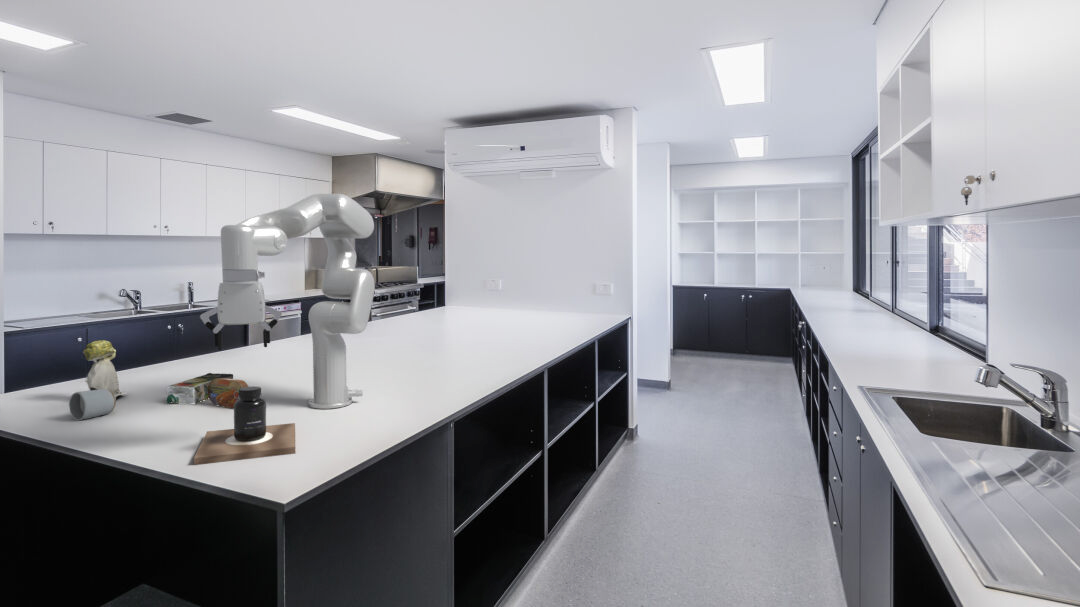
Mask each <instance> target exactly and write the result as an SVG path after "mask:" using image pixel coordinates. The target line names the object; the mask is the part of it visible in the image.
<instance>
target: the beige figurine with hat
mask: <svg viewBox="0 0 1080 607" xmlns="http://www.w3.org/2000/svg"><path fill="white" fill-rule="evenodd" d="M82 353H83V355H84V356H85V357H84V358H85V360H86V361H88V362H89V361H93V364H92V365H90V367H91V368H90V370H89V372H88V373H87V374H86V377H85V378H84V379H86V380H85V383H87V386H88V389H89V390H88V391H91V390H99V389H107V390H110V391H111V392H112V393H113V394H114V396H115V400H116V399H117V397H118V396H120V395H124V396H126V395H127V391H126V390H123V391H121V389H119V388H120V385H119V377H118V374H117V370H116V369H115V365H114V364H113V362H112V361H111V360H113V359H115V358H116V355H117V354H116V353H117V350H116V349H115V348H114V347H113V343H112V342H110V341H108V340H104V339H102V340H101V339H100V340H94V341H91V342H89V343H88V344H86V346H85V349H84V350H83V351H82Z"/></svg>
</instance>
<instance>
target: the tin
mask: <svg viewBox="0 0 1080 607" xmlns="http://www.w3.org/2000/svg"><path fill="white" fill-rule="evenodd" d="M243 387H250V386H249V385H248V383H247V382H246V381H245V380H242V379H235V378H233V379H228V378H216V379H213V380H212V381H211V382H210V384H209V386H208V397H209V399H208V400H209V402H210V404H212V405H214V406H215V405H219V406H218V407H220V406H224V407H223V408H227V407H229V408H228V409H234V404H235V402H236V401H237V400H239V399H240V398H239V397H238V395H239V389H240V388H243Z"/></svg>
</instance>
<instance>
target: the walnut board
mask: <svg viewBox="0 0 1080 607" xmlns="http://www.w3.org/2000/svg"><path fill="white" fill-rule="evenodd" d="M292 454H296V423H295V422H293V423H292V422H291V423H282V424H281V423H280V424H270V425H266V435H265V437H264V438H262V439H259V440H255V441H247V442H242V441H237V440H236V439H235V438H234V428H229V429H228V428H227V429H221V430H220V429H218V430H209V431H206V433H205V435H204V437H203V439H202V441H201V442H200V445H199V447H198V449H197V451H196V453H195V455H194V457H193V465H194V466H196V465H204V464H206V465H207V464H214V463H222V462H223V463H224V462H231V461H232V462H233V461H239V460H240V461H241V460H248V459H257V458H264V457H274V456H282V455H292Z"/></svg>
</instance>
